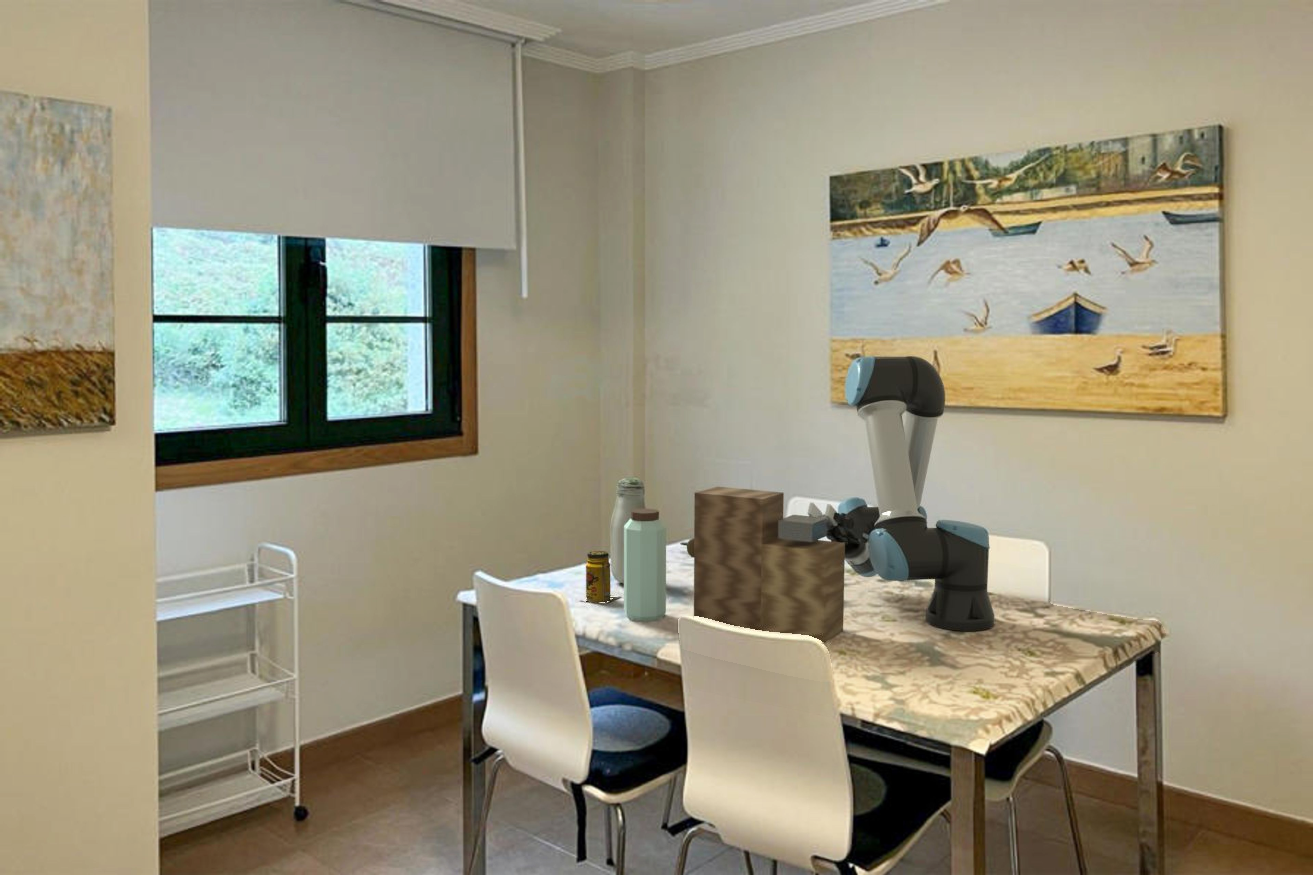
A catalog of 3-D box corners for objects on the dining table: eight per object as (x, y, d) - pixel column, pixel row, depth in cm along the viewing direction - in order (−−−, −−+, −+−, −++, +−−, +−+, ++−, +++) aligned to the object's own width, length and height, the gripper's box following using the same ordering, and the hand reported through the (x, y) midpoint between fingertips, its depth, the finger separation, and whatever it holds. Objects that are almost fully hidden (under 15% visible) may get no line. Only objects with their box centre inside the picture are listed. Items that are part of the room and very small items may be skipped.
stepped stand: (843, 631, 244) (845, 498, 241) (823, 643, 234) (826, 505, 231) (716, 611, 260) (717, 486, 257) (693, 622, 251) (694, 492, 248)
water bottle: (661, 623, 250) (661, 515, 247) (619, 621, 252) (618, 513, 249) (669, 612, 259) (670, 508, 257) (628, 610, 261) (628, 506, 259)
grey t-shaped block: (848, 526, 253) (849, 509, 252) (812, 542, 235) (812, 523, 234) (816, 523, 257) (816, 506, 256) (778, 538, 239) (778, 520, 239)
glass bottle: (622, 589, 282) (621, 481, 279) (604, 581, 291) (604, 476, 288) (655, 585, 286) (655, 479, 284) (637, 577, 295) (637, 474, 292)
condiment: (579, 601, 270) (578, 553, 268) (596, 594, 277) (596, 547, 276) (604, 605, 266) (604, 556, 265) (621, 597, 274) (621, 550, 272)
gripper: (880, 563, 260) (850, 528, 242) (816, 555, 269) (781, 520, 250) (886, 533, 263) (856, 496, 244) (822, 526, 271) (789, 490, 253)
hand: (818, 509), depth 247 cm, fingers closed on grey t-shaped block, 3 cm apart
